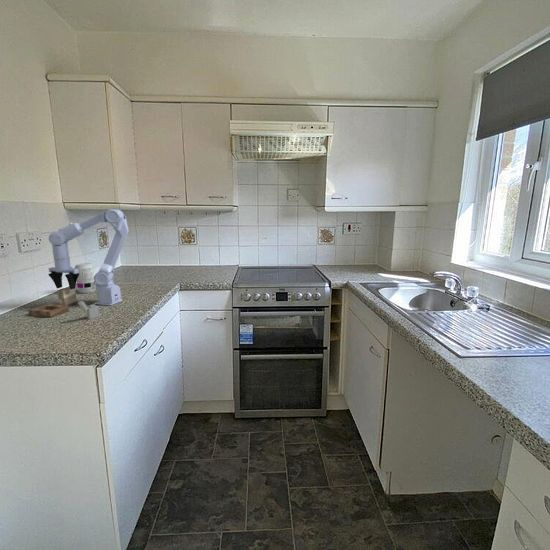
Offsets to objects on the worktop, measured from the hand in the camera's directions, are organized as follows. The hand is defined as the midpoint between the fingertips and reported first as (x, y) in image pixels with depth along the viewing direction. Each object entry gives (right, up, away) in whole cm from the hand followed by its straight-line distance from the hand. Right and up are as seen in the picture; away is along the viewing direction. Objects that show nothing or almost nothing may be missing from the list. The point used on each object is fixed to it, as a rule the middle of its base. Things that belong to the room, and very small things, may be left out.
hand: (66, 288), depth 140 cm
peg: (0, -8, +2) cm, 8 cm away
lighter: (+20, -12, -16) cm, 28 cm away
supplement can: (-6, -3, +25) cm, 26 cm away
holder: (-1, -10, -9) cm, 14 cm away
